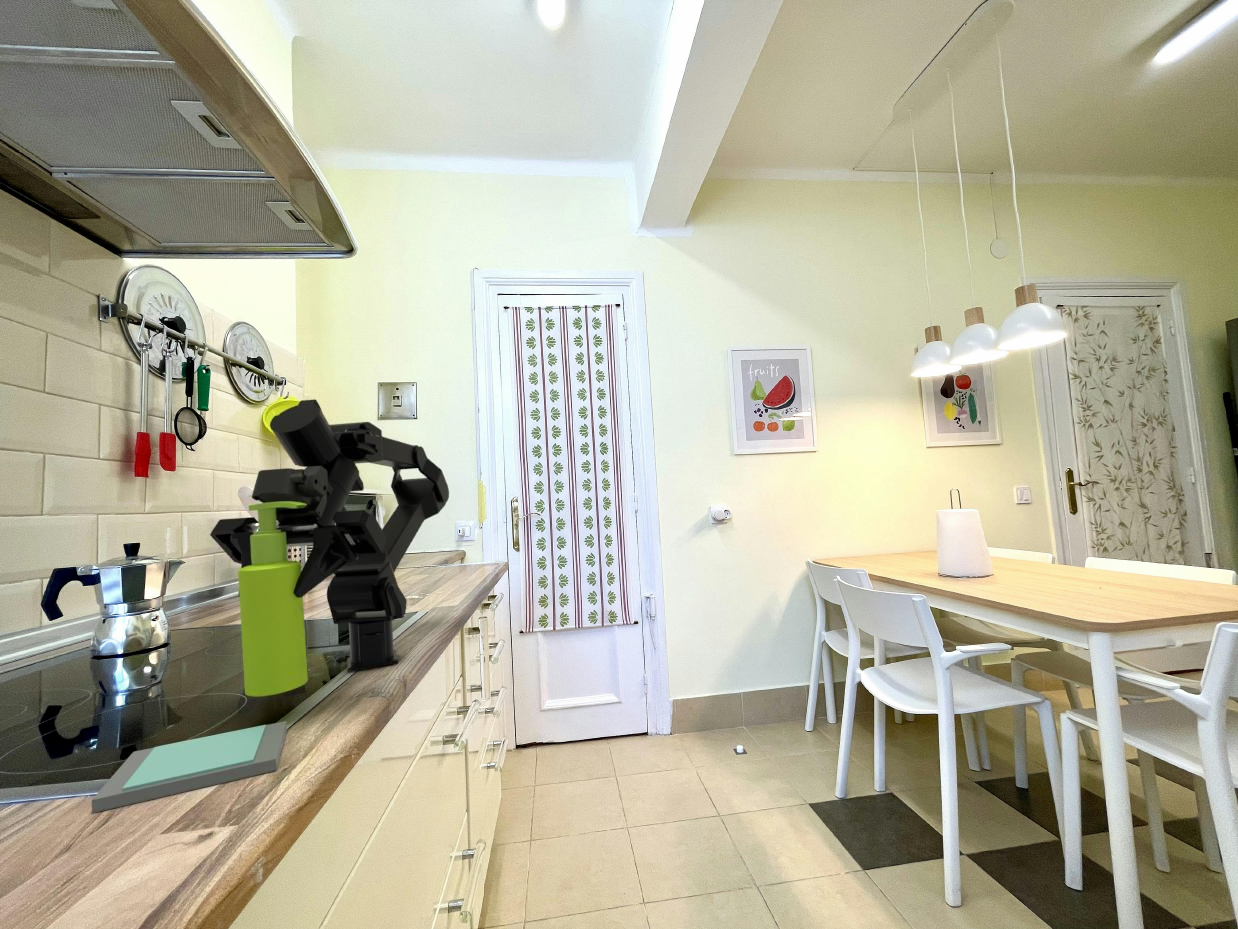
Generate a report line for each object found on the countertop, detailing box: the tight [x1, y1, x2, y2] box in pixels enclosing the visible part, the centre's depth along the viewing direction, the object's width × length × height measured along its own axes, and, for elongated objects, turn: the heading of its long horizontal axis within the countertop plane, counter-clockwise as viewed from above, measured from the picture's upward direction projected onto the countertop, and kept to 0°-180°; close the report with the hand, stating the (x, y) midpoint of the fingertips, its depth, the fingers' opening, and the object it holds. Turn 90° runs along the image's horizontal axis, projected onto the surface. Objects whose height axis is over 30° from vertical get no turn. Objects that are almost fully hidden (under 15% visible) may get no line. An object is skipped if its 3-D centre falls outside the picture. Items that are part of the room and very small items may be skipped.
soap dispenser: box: [237, 501, 309, 697], centre depth 64 cm, size 6×7×20 cm
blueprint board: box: [91, 720, 288, 814], centre depth 53 cm, size 10×12×1 cm
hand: (269, 597), depth 63 cm, fingers closed on soap dispenser, 6 cm apart
